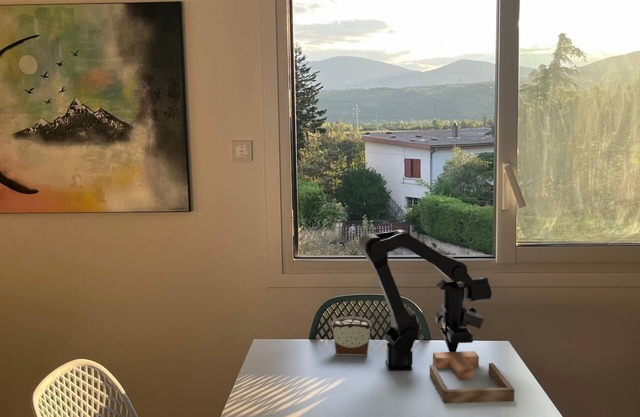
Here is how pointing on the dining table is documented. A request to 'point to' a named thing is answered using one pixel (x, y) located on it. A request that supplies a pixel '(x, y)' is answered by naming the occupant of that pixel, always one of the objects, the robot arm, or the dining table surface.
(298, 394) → the dining table surface
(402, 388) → the dining table surface
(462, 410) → the dining table surface
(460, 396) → the walnut bay
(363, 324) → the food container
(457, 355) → the terracotta T block
